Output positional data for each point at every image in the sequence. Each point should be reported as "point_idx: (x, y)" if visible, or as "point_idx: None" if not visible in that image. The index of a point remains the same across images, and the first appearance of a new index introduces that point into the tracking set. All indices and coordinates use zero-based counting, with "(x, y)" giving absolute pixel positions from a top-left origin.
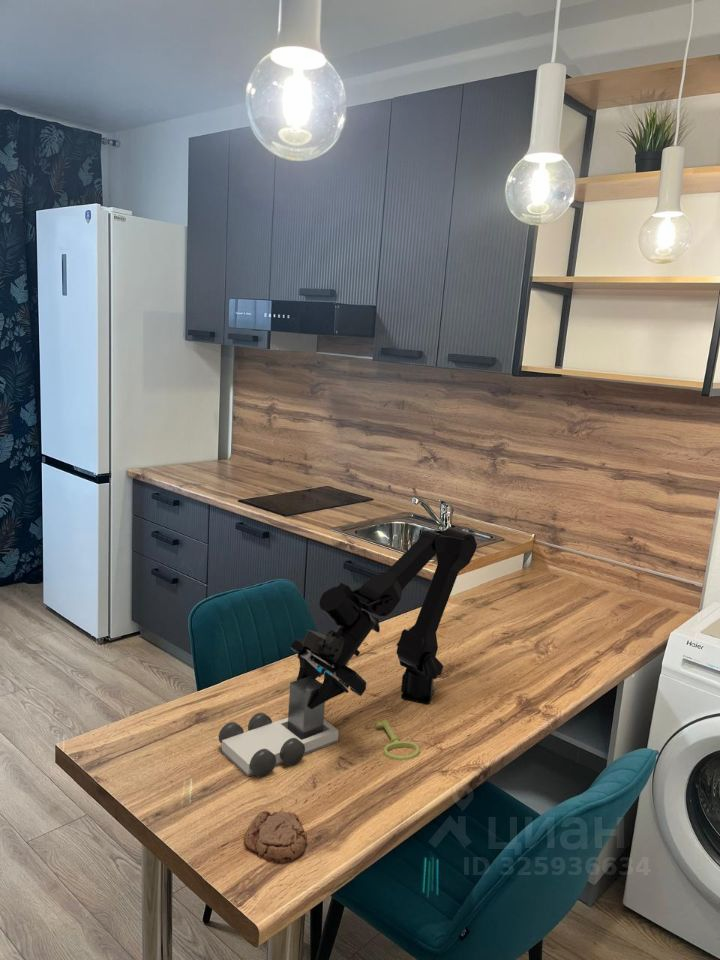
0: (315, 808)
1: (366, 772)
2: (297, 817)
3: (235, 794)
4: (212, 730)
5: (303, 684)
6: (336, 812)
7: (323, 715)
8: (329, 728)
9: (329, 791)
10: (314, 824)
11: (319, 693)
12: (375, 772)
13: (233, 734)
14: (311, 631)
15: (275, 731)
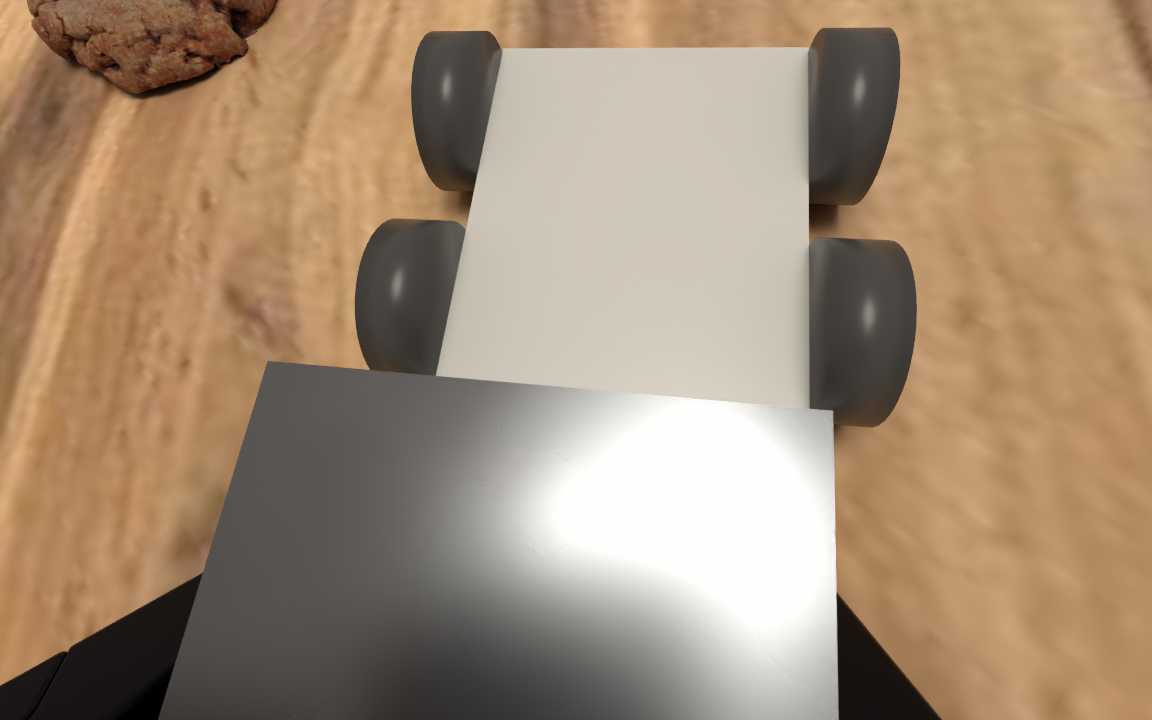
0: (144, 201)
1: (61, 616)
2: (95, 38)
3: (463, 15)
4: (1046, 177)
5: (547, 599)
6: (56, 251)
7: None
8: None
9: (153, 325)
10: (98, 142)
11: (95, 639)
12: (14, 664)
13: (812, 105)
14: None
15: (685, 358)
